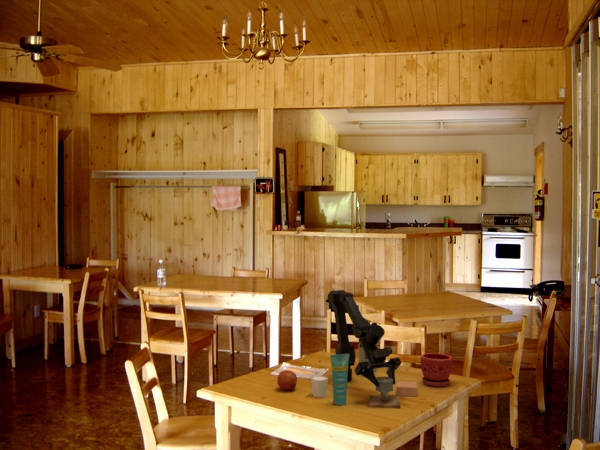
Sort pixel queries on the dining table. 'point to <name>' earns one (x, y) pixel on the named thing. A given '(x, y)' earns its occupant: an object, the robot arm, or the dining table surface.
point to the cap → (384, 384)
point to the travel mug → (362, 354)
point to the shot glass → (319, 386)
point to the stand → (406, 388)
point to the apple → (287, 380)
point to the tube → (339, 377)
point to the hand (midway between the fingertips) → (386, 385)
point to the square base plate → (384, 400)
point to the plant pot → (436, 369)
